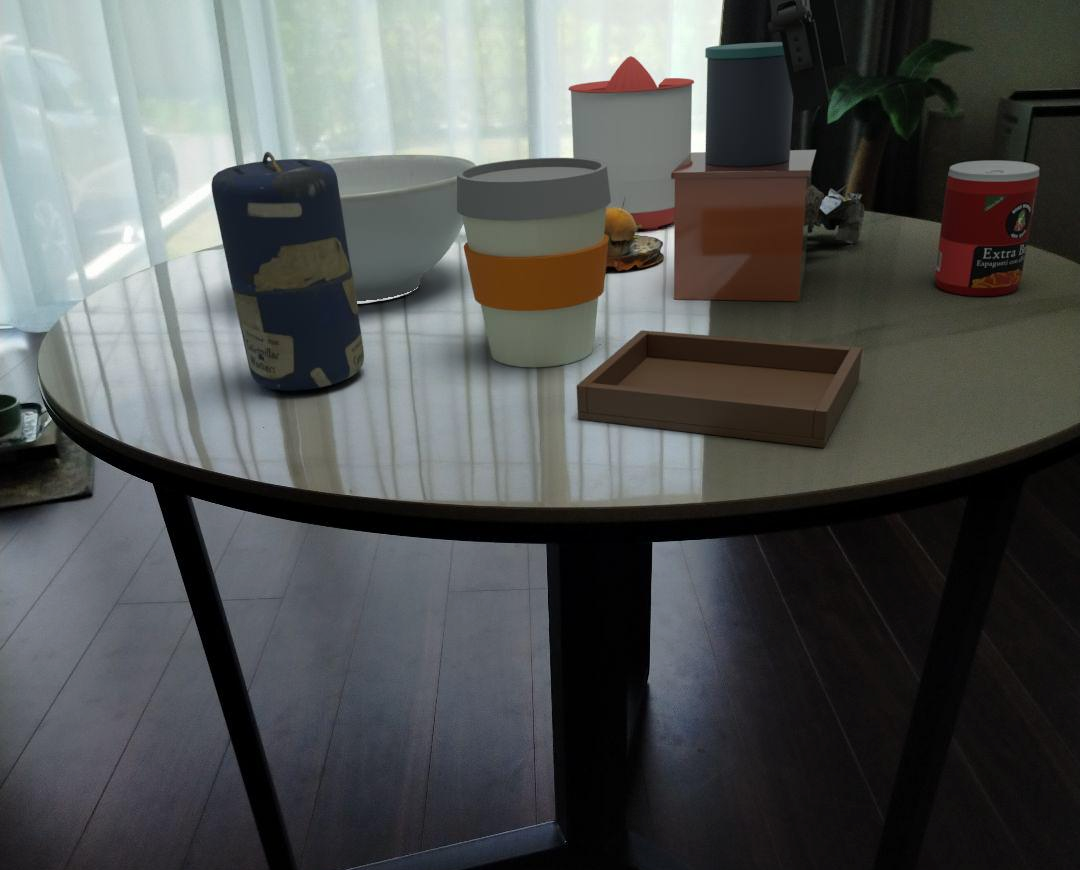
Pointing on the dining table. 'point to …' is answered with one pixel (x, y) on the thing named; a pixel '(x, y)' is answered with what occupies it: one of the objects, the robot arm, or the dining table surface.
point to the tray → (724, 387)
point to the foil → (836, 213)
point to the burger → (629, 242)
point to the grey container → (748, 105)
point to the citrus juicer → (635, 137)
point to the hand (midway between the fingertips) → (823, 86)
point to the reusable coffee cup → (536, 254)
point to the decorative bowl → (397, 218)
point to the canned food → (985, 227)
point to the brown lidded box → (741, 229)
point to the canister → (290, 271)
